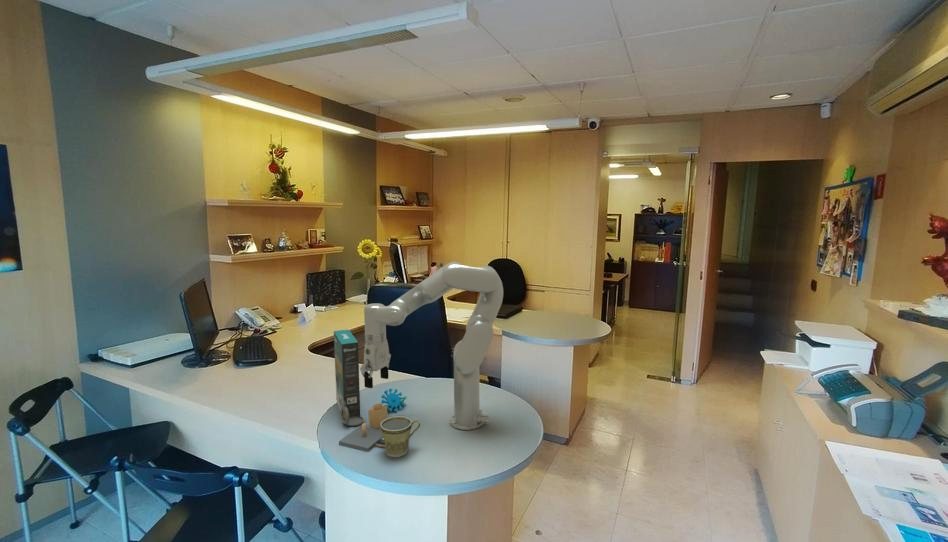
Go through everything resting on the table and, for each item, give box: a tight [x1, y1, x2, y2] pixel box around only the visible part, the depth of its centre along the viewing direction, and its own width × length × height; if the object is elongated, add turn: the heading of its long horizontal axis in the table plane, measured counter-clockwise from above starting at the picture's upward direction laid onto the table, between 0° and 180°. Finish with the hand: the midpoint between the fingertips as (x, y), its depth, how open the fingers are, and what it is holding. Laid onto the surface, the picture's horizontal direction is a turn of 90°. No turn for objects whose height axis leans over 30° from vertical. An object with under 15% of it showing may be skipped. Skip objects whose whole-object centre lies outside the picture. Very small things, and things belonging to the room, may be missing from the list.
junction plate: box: [338, 422, 386, 452], centre depth 145 cm, size 16×12×6 cm
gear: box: [380, 388, 408, 413], centre depth 171 cm, size 11×6×10 cm
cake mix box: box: [333, 329, 361, 418], centre depth 170 cm, size 22×6×30 cm, turn 26°
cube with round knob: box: [368, 403, 388, 430], centre depth 156 cm, size 5×5×8 cm
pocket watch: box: [340, 400, 365, 427], centre depth 157 cm, size 8×8×10 cm
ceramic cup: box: [380, 415, 421, 459], centre depth 138 cm, size 13×10×10 cm
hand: (376, 382), depth 155 cm, fingers open, 9 cm apart
